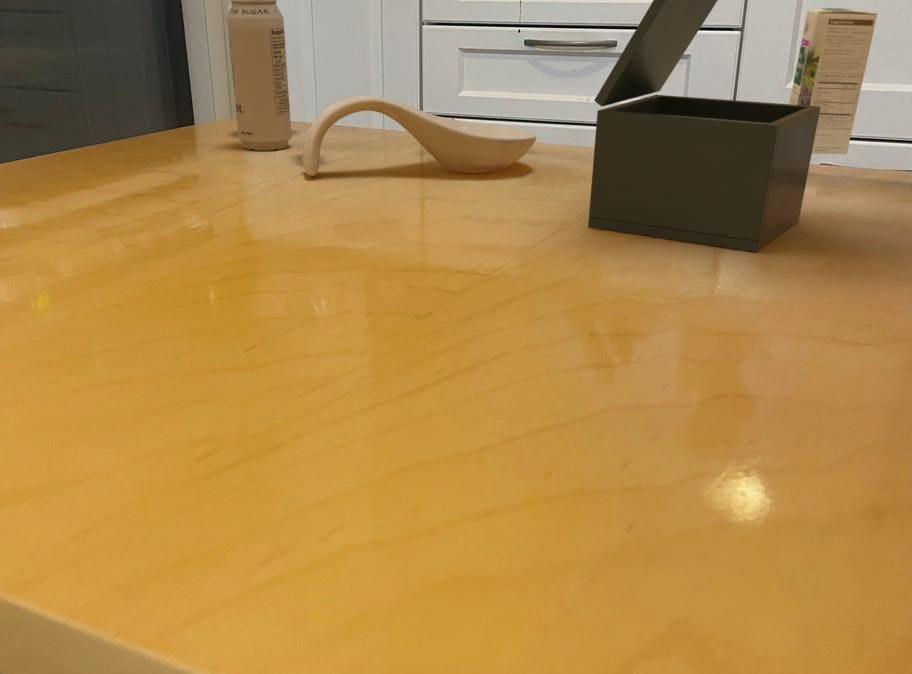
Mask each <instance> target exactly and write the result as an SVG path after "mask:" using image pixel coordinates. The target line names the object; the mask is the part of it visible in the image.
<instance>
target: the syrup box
mask: <svg viewBox="0 0 912 674" xmlns="http://www.w3.org/2000/svg"><path fill="white" fill-rule="evenodd" d="M877 17H878V13H877V12H870V11H865V10H864V11H863V10H859V9H858V10H857V9H851V8H843V7H819V8H810V9H807V11H806V16H805V20H804V27H803V32H802V37H801V42H800V46H799V53H798V57H797V62H796V66H795V72H794V77H793V83H792V88H791V91H790V92H791V93H790V98H789V102H788V104H792V105H806V106H820V113H819V118H818V123H817V128H816V134H815V139H814V144H813V149H812V154H817V155H819V154H820V155H848V150H849V144H850V141H851V136H852V131H853V127H854V123H855V118H856V113H857V109H858V104H859V99H860V95H861V89H862V85H863V81H864V76H865V72H866V68H867V64H868V59H869V55H870V50H871V46H872V45H871V44H872V41H873V35H874V31H875V26H876V21H877Z"/></svg>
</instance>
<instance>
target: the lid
mask: <svg viewBox="0 0 912 674" xmlns="http://www.w3.org/2000/svg"><path fill="white" fill-rule="evenodd" d="M718 1H719V0H652V2H651V3H650V5H649V7H648V9H647V10H646V12H645V13H644V16H643V17H642V19H641V21H640V22H639V24H638V26H637V27H636V28H635V31H634V33H633V34H632V36H631V37H630V39H629V41H628V42H627V44H626V46H625V48H624V49H623V51H622V52H621V54H620V56H619V58H618V59H617V61H616V62H615V64H614V66H613V68H612V70H611V71H610V73H609V74H608V76H607V78H606V80H605V81H604V83H603V85H602V86H601V88H600V90H599V91H598V93H597V95H596V96H595V98H594V100H593V101H594V102H595V103H596V104H598V106H600V107H605V106H610V105H613V104H618V103H621V102H624V101H628V100H633V99H636V98H639V97H643V96H648V95H650V94H654V93H658V92H661V90H662V88H663V87H664V85H665V84H666V82H667V81H668V79H669V77H670V76H671V74H672V73H673V71H674V70H675V68H676V67H677V65H678V63H679V62H680V60H681V59H682V57H683V56H684V54H685V53H686V51H687V49H688V48H689V46H690V44H691V43H692V42H693V40H694V39H695V37H696V35H697V34H698V32H699V31H700V29H701V27H702V26H703V24H704V23H705V21H706V20H707V19H708V17H709V15H710V14H711V12H712V10H713V9H714V7H715V6H716V5H717V3H718Z"/></svg>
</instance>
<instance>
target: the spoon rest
mask: <svg viewBox="0 0 912 674" xmlns="http://www.w3.org/2000/svg"><path fill="white" fill-rule="evenodd" d="M359 112H376V113H380V114H381V115H385V116H386V117H388V118H390V119H392V120H394V121H395V122H396V123H398V124H399V125H400V126H401V127H402V128H403V129H404V130H406V131H407V132H408V133H409V134H410V135H411V136H412V137H413V138H414V139H415V140H416V141H417V142H418V144H420V146H422V148H423V149H424V150H426V152H427V153H428V154H429V155H430V156H431V157H433V159H434V160H436V161H437V162H438V163H439V164H440V165H441V166H442V168H443V169H445V170H447V171H451V172H456V173H464V174H465V173H466V174H490V173H497V172H500V171H501V170H503V169H504V168H507V167H510V166H511V165H513V164H515V163H517V162H518V161H519V160H520V159H521V158H523V157H524V156H525V155H526V154H527V153H528V152H529V151H530V150H531V148H532V147H533V146H534V144H535V143H536V141H537V135H536V134H535V133H533V132H531V131H528V130H525V129H521V128H516V127H511V126H505V125H500V124H493V123H485V122H476V121H467V120H460V119H454V118H448V117H443V116H438V115H435V114H432V113H429V112H425V111H423V110H420V109H418V108H415V107H413V106H410V105H408V104H405V103H402V102H400V101H396V100H394V99H390V98H388V97H382V96H377V95H366V94H365V95H355V96H350V97H346V98H344V99H341V100H339V101H337V102H334V103H333V104H331V105H329V106H328V107H326V108H325V109H324V110H323V111H321V113H320V114H319V115H317V117H316V118H315V119H314V121H313V123H312V124H311V126H310V127H309V129H308V132H307V134H306V137H305V141H304V144H303V150H302V167H303V170H304V172H305V173H306V174H307V175H308V176H311V177H313V176H317V175H318V173H319V169H320V152H321V151H320V150H321V147H322V143H323V140H324V138H325V136H326V133H327V132H328V131H329V129H330V128H331V127H332V126H333V125H334V124H335V123H337V122H338V121H340V120H341V119H343V118H345V117H347V116H349V115H353V114H356V113H359Z"/></svg>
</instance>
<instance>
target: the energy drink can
mask: <svg viewBox="0 0 912 674" xmlns="http://www.w3.org/2000/svg"><path fill="white" fill-rule="evenodd" d="M230 1H231V2H230V3H231V7H230V9H229V12H228V14H227V17H226V20H227V30H228V41H229V52H230V63H231V71H232V82H233V83H232V84H233V94H234V103H235V104H234V106H235V114H236V116H235V117H236V124H237V136H238V140H239V141H240V142H241V143H242V144H243V148H244V147H245V148H244V149H246V148H247V149H246V150H249V149H254V150H253V151H276V150H275V149H278V150H283V149H286V148H288V143H289V141H290V140H291V139H292V122H291V107H290V93H289V80H288V79H289V78H288V63H287V51H286V50H287V49H286V36H285V21H284V20H285V19H284V16H283V14H282V13H281V10H280V9H279V6H278V4H277V0H230ZM285 147H286V148H285ZM282 148H283V149H282Z"/></svg>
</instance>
